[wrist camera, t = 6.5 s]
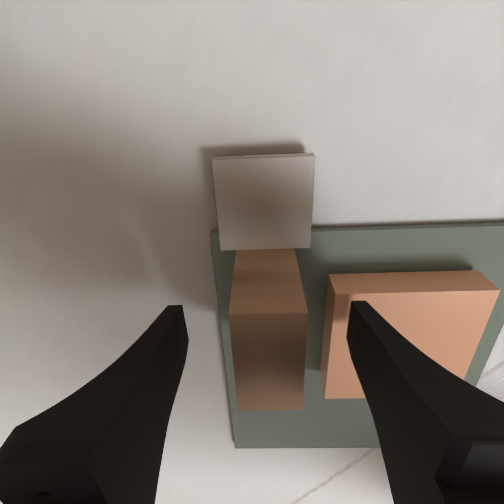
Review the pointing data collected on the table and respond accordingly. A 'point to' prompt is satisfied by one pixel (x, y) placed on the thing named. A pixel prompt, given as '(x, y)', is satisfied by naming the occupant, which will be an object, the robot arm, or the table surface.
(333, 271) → the mat
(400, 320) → the tile
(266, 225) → the two-tone block stack
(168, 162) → the table surface
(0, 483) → the robot arm
